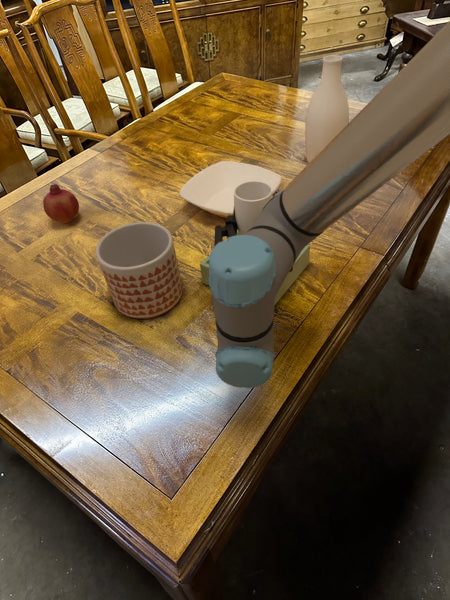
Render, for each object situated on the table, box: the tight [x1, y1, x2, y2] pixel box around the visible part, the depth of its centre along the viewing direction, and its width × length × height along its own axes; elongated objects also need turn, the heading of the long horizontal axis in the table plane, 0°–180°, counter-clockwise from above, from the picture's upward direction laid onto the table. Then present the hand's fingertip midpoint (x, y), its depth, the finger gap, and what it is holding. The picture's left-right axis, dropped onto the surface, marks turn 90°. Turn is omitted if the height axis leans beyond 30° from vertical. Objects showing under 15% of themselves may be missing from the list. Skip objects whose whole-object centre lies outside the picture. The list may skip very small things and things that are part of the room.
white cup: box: [234, 181, 274, 235], centre depth 77 cm, size 7×7×15 cm
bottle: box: [304, 54, 350, 164], centre depth 106 cm, size 11×11×25 cm
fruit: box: [42, 183, 80, 224], centre depth 100 cm, size 8×8×10 cm
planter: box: [95, 221, 184, 320], centre depth 78 cm, size 14×14×13 cm
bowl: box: [178, 160, 283, 219], centre depth 102 cm, size 22×22×5 cm
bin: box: [199, 229, 311, 307], centre depth 83 cm, size 16×16×5 cm
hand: (255, 207), depth 80 cm, fingers closed on white cup, 6 cm apart
